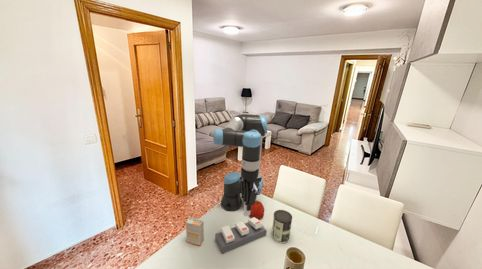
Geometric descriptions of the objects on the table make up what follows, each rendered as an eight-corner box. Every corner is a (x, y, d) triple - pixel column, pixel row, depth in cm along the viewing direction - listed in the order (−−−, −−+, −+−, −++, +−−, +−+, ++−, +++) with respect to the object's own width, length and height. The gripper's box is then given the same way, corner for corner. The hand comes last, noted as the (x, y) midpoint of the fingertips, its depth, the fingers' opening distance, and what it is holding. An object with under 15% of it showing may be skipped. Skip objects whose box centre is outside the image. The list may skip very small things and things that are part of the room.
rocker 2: (235, 227, 110) (235, 223, 109) (241, 224, 112) (241, 220, 111) (242, 235, 103) (242, 231, 102) (248, 232, 105) (249, 228, 104)
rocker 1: (220, 230, 105) (221, 227, 104) (228, 227, 107) (228, 224, 106) (226, 243, 99) (227, 240, 98) (234, 240, 101) (234, 237, 100)
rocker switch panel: (215, 239, 106) (215, 232, 105) (256, 224, 120) (257, 217, 118) (222, 254, 98) (222, 246, 96) (266, 235, 111) (267, 228, 110)
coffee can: (289, 231, 115) (291, 211, 112) (289, 244, 105) (292, 223, 102) (271, 228, 117) (274, 208, 113) (271, 241, 107) (273, 219, 104)
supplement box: (204, 239, 106) (204, 219, 102) (200, 246, 101) (199, 225, 98) (190, 236, 108) (190, 216, 104) (186, 242, 103) (185, 222, 100)
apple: (257, 209, 134) (258, 195, 131) (267, 217, 126) (268, 204, 123) (245, 213, 129) (246, 200, 126) (254, 223, 120) (255, 208, 118)
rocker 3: (248, 223, 114) (248, 219, 114) (254, 221, 116) (254, 216, 116) (255, 229, 107) (255, 224, 107) (262, 226, 109) (262, 222, 109)
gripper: (235, 163, 85) (233, 208, 92) (250, 176, 75) (247, 226, 81) (249, 160, 89) (246, 204, 95) (266, 172, 78) (261, 221, 84)
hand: (246, 214), depth 88 cm, fingers closed
